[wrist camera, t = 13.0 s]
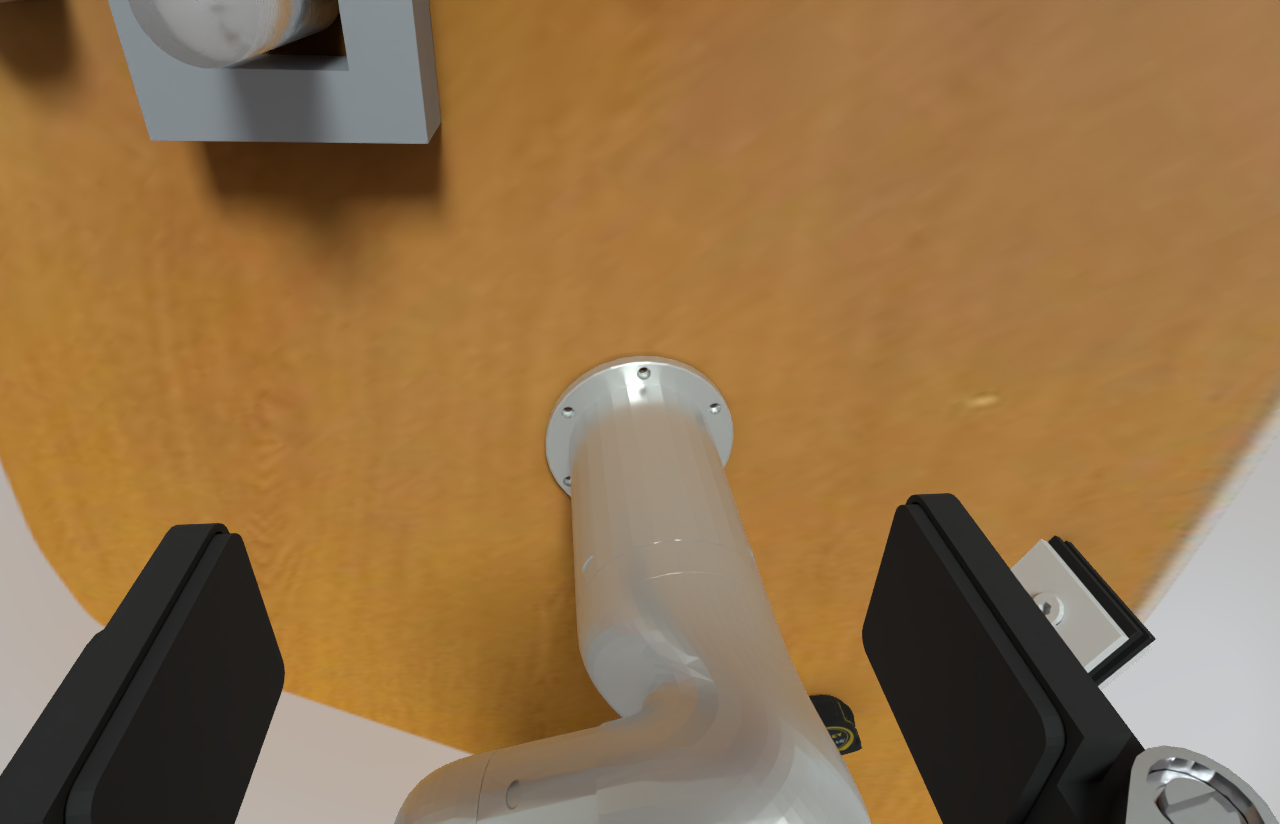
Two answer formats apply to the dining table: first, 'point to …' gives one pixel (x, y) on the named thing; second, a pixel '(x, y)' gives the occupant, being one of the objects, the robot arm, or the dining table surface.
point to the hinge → (1083, 609)
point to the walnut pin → (3, 0)
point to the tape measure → (838, 723)
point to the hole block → (297, 84)
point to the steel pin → (229, 26)
